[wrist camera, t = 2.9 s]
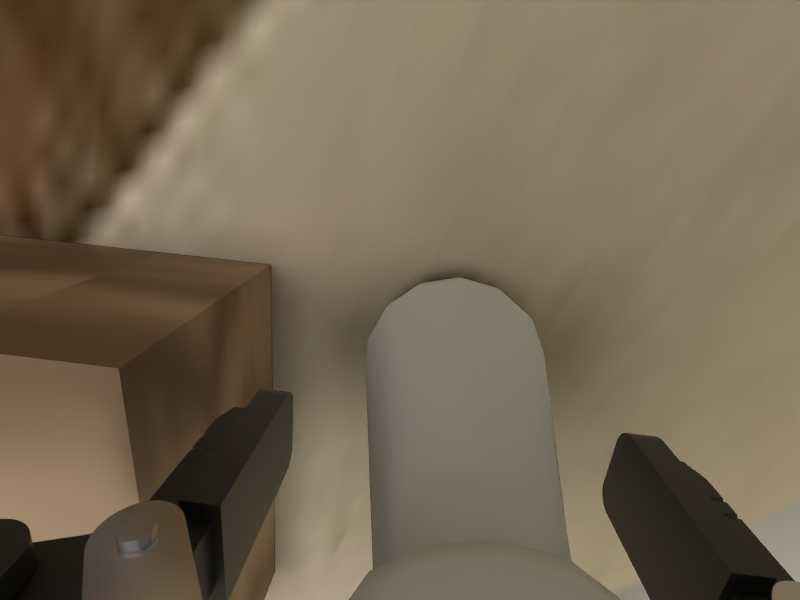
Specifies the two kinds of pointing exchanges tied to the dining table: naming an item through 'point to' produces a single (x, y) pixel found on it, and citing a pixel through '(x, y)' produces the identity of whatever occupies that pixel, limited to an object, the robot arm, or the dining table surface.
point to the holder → (121, 378)
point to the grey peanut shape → (464, 454)
